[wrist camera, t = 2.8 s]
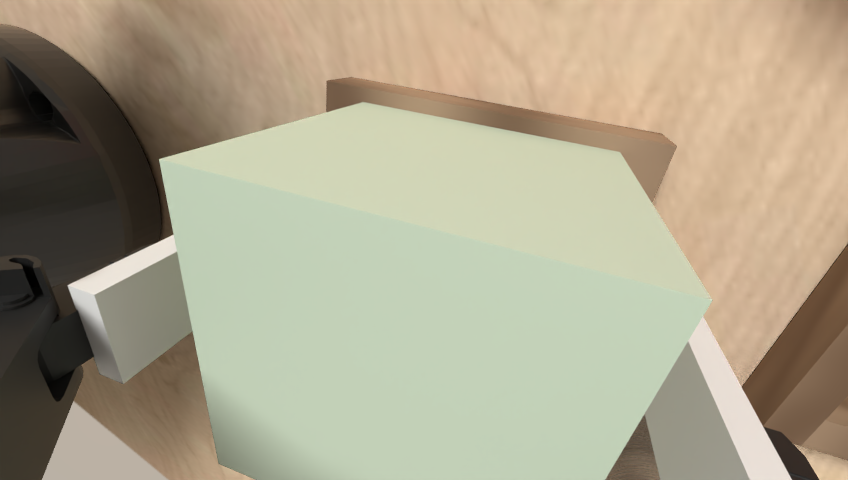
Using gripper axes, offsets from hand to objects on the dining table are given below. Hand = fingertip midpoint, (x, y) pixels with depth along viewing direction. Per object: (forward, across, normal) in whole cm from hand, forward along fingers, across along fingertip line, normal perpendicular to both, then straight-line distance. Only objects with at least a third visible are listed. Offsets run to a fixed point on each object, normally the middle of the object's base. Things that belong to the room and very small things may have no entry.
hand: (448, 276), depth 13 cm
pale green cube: (+3, 0, 0) cm, 3 cm away
